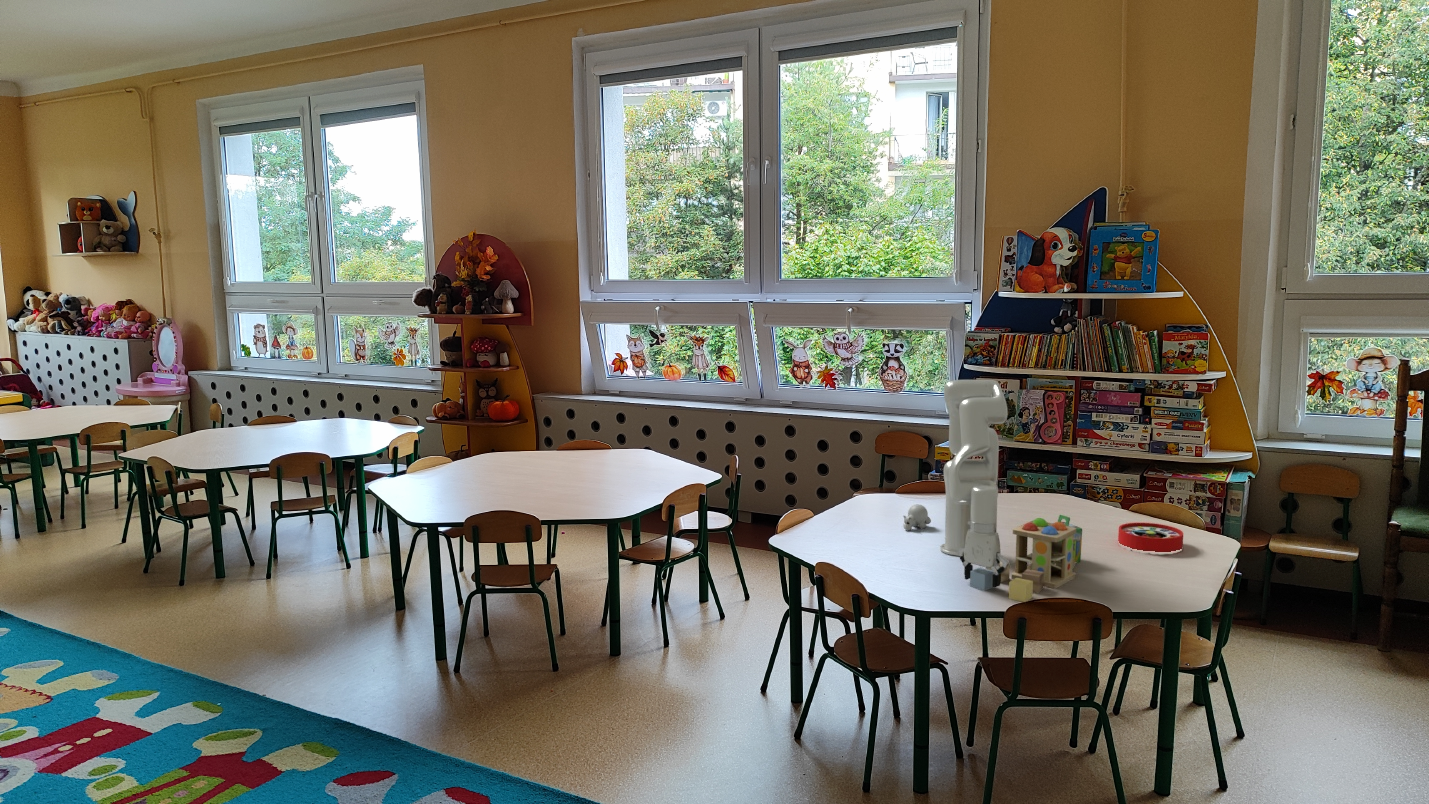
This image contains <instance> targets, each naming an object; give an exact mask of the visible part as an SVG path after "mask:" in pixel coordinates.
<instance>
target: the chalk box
mask: <svg viewBox="0 0 1429 804" xmlns="http://www.w3.org/2000/svg"><path fill="white" fill-rule="evenodd" d="M1062 520H1065V521H1062ZM1057 522H1062V523H1064V524H1065V525H1066V526H1069V527H1074V528H1076V533H1075V534H1073V558H1074V561H1075V562H1077V563H1081V562H1080V561H1082V560H1081V559H1082V543H1083V542H1082V540H1083V528H1082V527H1079V526H1078V525H1077V526H1076V525H1074V524H1072V523H1070V522H1071V517H1069V516H1067V515H1064V514H1059V515H1058V519H1057ZM1052 523H1053V524H1054V523H1055V522H1052ZM1055 555H1057V554H1055ZM1055 565H1056V563H1055Z"/></svg>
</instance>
